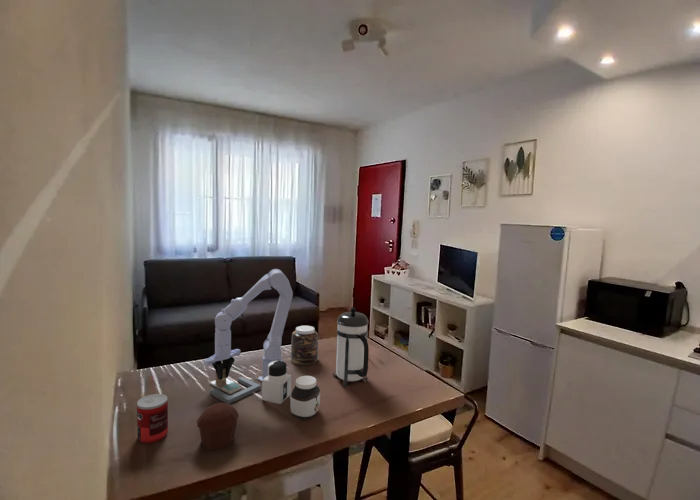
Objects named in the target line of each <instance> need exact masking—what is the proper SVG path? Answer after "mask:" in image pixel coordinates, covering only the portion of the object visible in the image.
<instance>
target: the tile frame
mask: <svg viewBox="0 0 700 500" xmlns="http://www.w3.org/2000/svg"><path fill="white" fill-rule="evenodd" d="M237 382H238V383H239V384H241V385H243V386H246V387H247V388H244V389H241V390H239V391H237V392H234V393H232V394H228V393H226V392H224V391H223V390H220V389H218V388H216V387H214V388H211V389H209V394H210V395H211V396H213V397H215V398H217V399H218V400H220V401H222V403H226V404H230V405H231V404H233V403H234V402H236V401H239V400H241V399H243V398H245V397H247V396H249V395H251V394H253V393H255V392H258V391H260V390H261V388H262V384H259V383H256V382H254V381H252V380H251V379H248V378H246V377H244V376H240V377H238V378H237Z"/></svg>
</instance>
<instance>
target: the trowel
mask: <svg viewBox="0 0 700 500" xmlns="http://www.w3.org/2000/svg"><path fill="white" fill-rule="evenodd" d="M232 382H234V383H235V381H233V380H231V379H229V378H228V377H227V378H226V368H225V367H223V378H222V380H219V379H218V378H217V374H216V373H215V380H212V381H210V382H209V384H210V385H211V386H212V387H214V388H216V389H218V390H220V391H223V390H222V387H223V386H225V385H227V384H230V383H232Z"/></svg>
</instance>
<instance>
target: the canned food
mask: <svg viewBox="0 0 700 500" xmlns="http://www.w3.org/2000/svg"><path fill="white" fill-rule="evenodd" d="M168 400H169V399H168V396H167V395H166V394H163V393H152V394H148V395H144V396H142V397H141V398H140V399H138V400H137V403H136V423H137V424H136V428H137V438H138V441H139V442H141V443H143V444H152V443H153V444H154V443H156V442H159V441H160V440H163V439H164V438H165V437H166V436H167V434H168V431H169V408H168V407H169V404H168V402H169V401H168Z"/></svg>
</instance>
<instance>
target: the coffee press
mask: <svg viewBox="0 0 700 500" xmlns="http://www.w3.org/2000/svg"><path fill="white" fill-rule="evenodd" d="M336 323H337V328H336V356H335V359H336V360H335V371H334V372H333V373H332V376H333V377H334V378H335V377H337V378H338V379H340V380H342V381H343V383H342V386H343V387H346V388H347V387H348V383H349V382H357V381H360V380H362V381H363V383H365V380H366V381H367V382H369V377H368V376H367V375H368V372H369V371H368V370H369V354H370V353H369V341H368V333H369V332H368V331H369V330H368V329H369V328H368V325H369V319H368V317H367V316H366V315H365V314H364V313H362V312H359V311H357V309H356V307H354V306H353V307H351V308H350V311H346V312H342V313H341V314H339V316H338V317H337V318H336ZM364 377H365V378H364Z"/></svg>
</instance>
